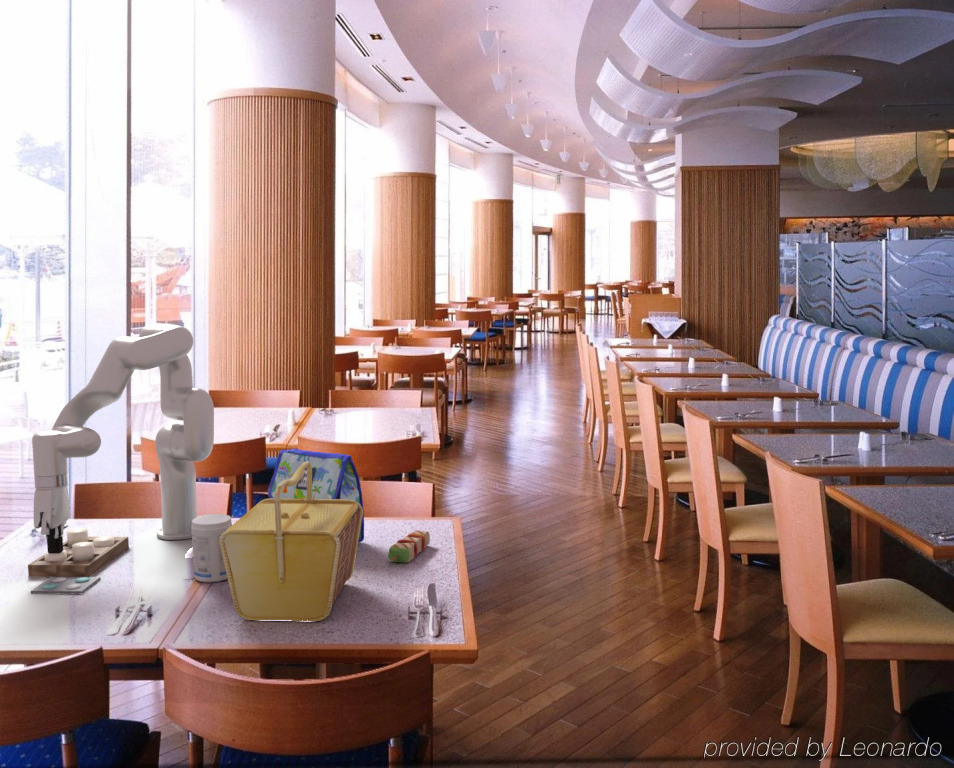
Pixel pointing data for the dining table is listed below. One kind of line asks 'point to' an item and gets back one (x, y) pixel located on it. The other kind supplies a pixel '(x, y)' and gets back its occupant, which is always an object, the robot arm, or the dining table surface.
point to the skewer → (409, 547)
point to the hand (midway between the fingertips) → (55, 552)
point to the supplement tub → (209, 547)
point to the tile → (66, 585)
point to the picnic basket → (291, 554)
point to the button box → (78, 567)
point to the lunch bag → (318, 477)
